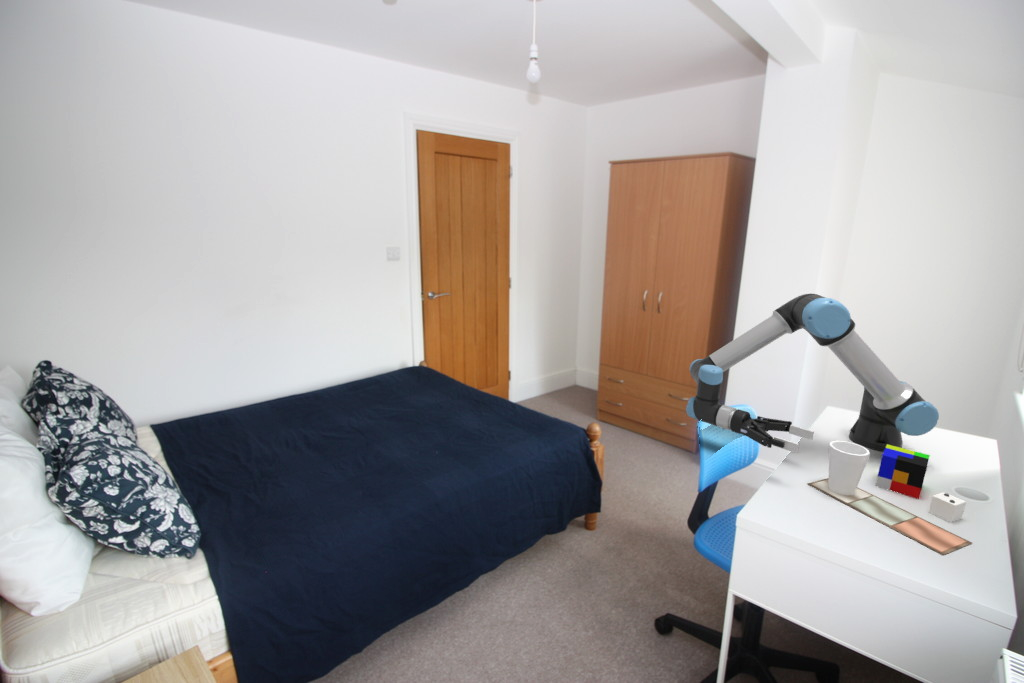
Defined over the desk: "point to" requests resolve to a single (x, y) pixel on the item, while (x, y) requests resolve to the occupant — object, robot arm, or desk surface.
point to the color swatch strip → (898, 519)
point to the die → (947, 507)
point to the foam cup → (846, 466)
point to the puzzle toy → (902, 471)
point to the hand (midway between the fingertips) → (805, 442)
